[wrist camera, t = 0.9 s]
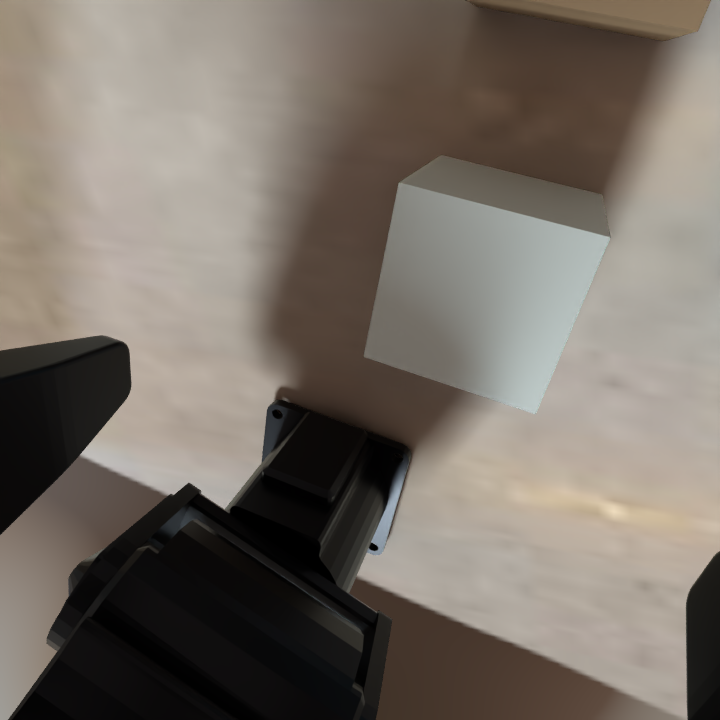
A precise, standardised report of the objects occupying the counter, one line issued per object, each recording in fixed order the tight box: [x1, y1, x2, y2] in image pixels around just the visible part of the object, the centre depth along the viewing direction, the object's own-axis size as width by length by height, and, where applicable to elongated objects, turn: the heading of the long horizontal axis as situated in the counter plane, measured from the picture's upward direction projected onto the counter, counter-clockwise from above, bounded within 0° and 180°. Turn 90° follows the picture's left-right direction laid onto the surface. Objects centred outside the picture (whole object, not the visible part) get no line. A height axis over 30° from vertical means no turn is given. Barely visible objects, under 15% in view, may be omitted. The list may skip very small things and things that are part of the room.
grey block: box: [363, 155, 611, 414], centre depth 16 cm, size 5×5×5 cm
